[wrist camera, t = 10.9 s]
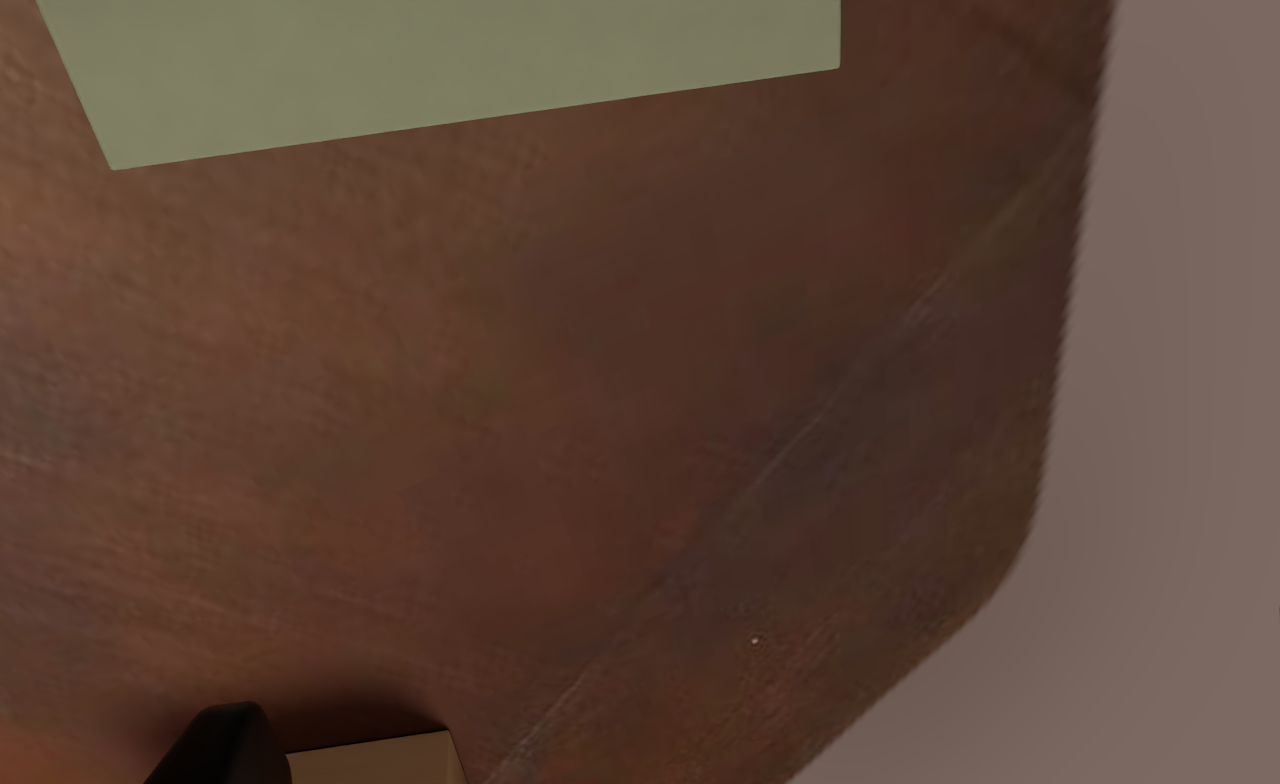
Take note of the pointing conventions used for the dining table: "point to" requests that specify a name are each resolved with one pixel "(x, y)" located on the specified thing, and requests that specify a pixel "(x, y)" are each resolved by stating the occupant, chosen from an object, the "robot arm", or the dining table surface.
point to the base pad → (400, 62)
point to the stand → (382, 762)
